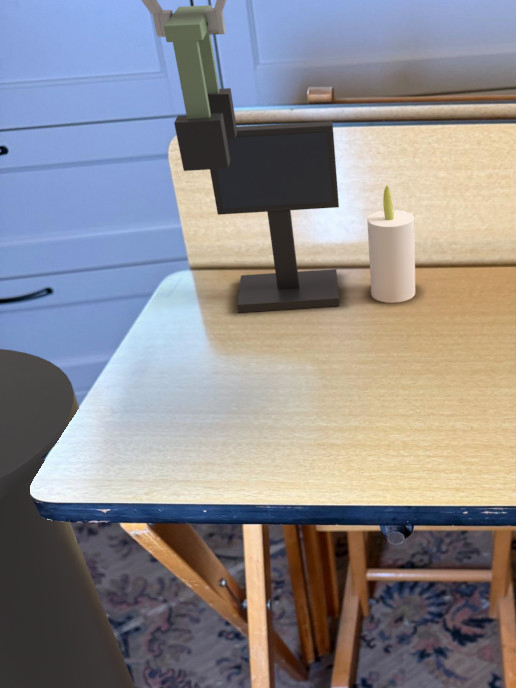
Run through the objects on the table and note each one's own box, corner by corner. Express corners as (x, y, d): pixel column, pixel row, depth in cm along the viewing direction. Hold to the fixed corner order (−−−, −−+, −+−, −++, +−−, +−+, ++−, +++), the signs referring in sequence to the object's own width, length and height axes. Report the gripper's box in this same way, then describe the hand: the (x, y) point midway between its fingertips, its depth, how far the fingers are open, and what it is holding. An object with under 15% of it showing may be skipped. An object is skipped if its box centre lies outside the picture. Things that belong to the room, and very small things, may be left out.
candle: (421, 285, 115) (420, 176, 105) (407, 304, 110) (405, 192, 100) (380, 281, 116) (375, 173, 106) (364, 299, 112) (358, 189, 102)
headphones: (183, 171, 71) (155, 28, 64) (197, 134, 80) (174, 5, 73) (228, 168, 72) (205, 25, 64) (237, 132, 81) (217, 3, 73)
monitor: (230, 313, 110) (200, 141, 95) (235, 283, 117) (207, 119, 103) (346, 305, 110) (333, 134, 96) (343, 276, 118) (331, 113, 103)
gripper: (6, -173, 58) (63, 47, 67) (287, -182, 59) (307, 35, 68) (29, -172, 63) (80, 33, 72) (289, -180, 64) (307, 23, 73)
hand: (192, 34), depth 70 cm, fingers closed on headphones, 3 cm apart
